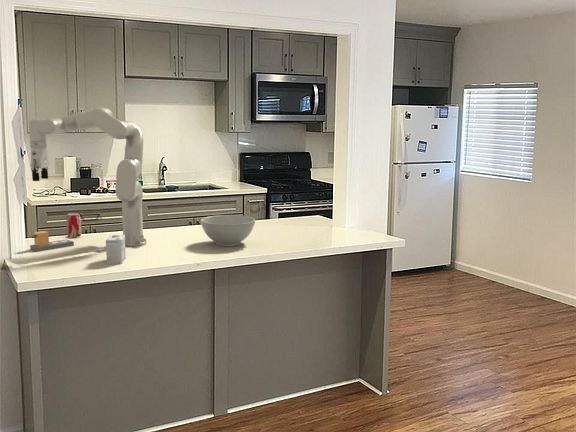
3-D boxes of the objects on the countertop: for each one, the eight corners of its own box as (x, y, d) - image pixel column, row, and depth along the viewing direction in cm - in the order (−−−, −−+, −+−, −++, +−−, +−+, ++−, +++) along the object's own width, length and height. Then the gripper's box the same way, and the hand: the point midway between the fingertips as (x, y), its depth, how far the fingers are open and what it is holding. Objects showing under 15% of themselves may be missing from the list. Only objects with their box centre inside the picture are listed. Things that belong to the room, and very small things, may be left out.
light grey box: (110, 258, 291) (109, 234, 289) (126, 258, 291) (125, 234, 289) (106, 264, 280) (105, 239, 278) (122, 264, 281) (121, 239, 279)
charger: (49, 249, 302) (48, 232, 300) (34, 251, 297) (33, 234, 295) (45, 247, 304) (44, 230, 303) (30, 250, 299) (29, 233, 298)
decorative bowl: (219, 236, 339) (219, 213, 337) (264, 241, 328) (264, 217, 325) (190, 246, 315) (189, 221, 313) (237, 251, 304) (237, 226, 302)
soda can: (77, 238, 332) (75, 215, 330) (64, 237, 334) (63, 214, 332) (84, 235, 339) (83, 213, 337) (71, 235, 340) (70, 212, 338)
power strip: (74, 248, 309) (73, 241, 308) (37, 255, 296) (37, 247, 296) (66, 246, 314) (66, 239, 313) (30, 252, 301) (30, 244, 300)
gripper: (38, 145, 306) (40, 182, 309) (53, 143, 323) (55, 177, 326) (22, 145, 306) (24, 181, 309) (38, 143, 323) (40, 177, 326)
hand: (40, 179), depth 318 cm, fingers open, 9 cm apart
